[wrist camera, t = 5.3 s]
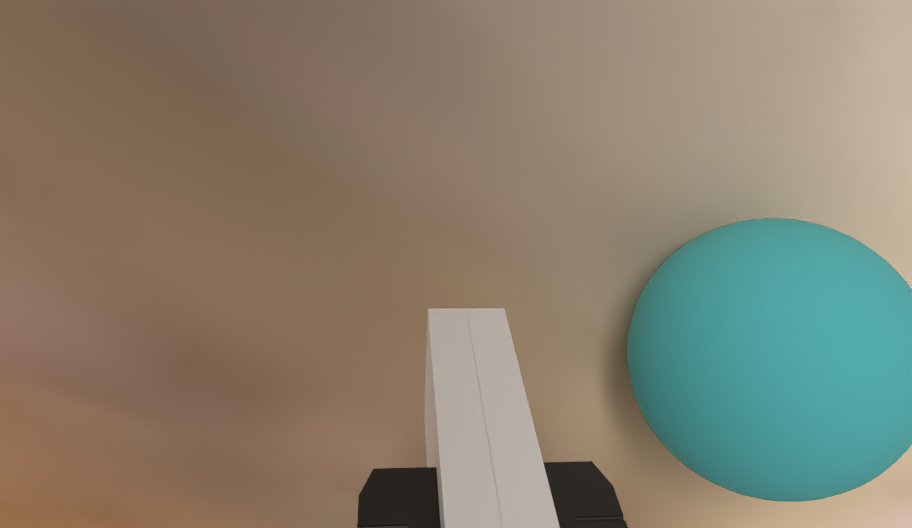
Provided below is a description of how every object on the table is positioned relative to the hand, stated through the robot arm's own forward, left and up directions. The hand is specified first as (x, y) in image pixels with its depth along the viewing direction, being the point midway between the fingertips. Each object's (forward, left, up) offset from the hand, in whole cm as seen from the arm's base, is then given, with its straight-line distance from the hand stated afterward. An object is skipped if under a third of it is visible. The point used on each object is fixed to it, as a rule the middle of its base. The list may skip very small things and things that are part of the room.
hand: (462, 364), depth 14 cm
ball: (+6, 0, 0) cm, 6 cm away
